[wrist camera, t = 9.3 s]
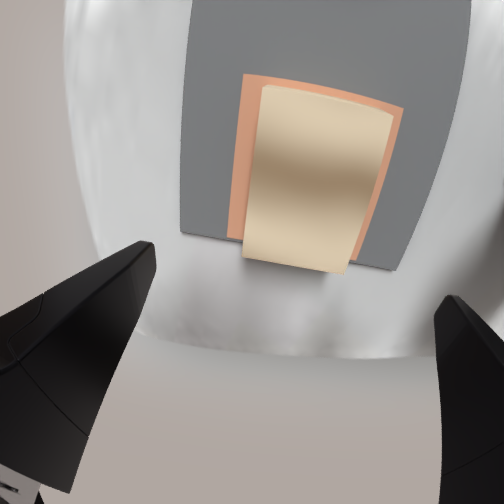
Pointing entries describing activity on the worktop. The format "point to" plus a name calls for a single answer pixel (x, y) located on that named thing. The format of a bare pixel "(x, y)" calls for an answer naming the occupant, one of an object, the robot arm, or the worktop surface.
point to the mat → (324, 82)
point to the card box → (312, 177)
